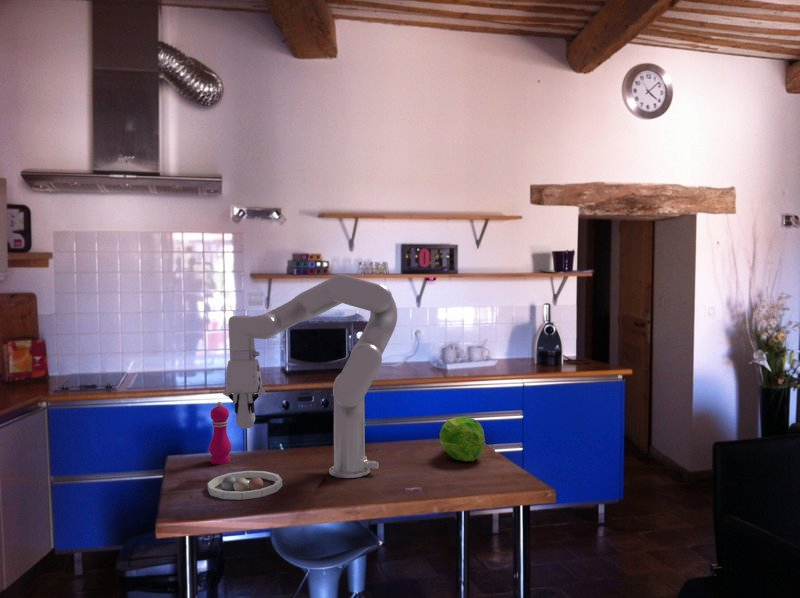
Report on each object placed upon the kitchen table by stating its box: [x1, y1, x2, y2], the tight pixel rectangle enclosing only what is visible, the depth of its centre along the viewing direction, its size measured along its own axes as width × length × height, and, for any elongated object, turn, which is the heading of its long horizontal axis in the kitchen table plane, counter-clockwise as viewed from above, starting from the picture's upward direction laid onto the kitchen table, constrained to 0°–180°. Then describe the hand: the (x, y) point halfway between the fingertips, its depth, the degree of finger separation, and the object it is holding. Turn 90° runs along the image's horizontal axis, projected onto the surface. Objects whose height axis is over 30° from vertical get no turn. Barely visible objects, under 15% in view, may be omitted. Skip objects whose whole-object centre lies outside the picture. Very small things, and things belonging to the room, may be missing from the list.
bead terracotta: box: [249, 477, 264, 491], centre depth 182 cm, size 4×4×4 cm
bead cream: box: [233, 478, 248, 492], centre depth 181 cm, size 4×4×4 cm
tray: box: [207, 470, 283, 500], centre depth 184 cm, size 20×20×3 cm
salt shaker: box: [235, 390, 256, 430], centre depth 199 cm, size 6×6×13 cm
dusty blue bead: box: [221, 476, 236, 491], centre depth 182 cm, size 4×4×4 cm
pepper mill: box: [208, 401, 233, 465], centre depth 215 cm, size 7×7×20 cm
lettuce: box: [439, 416, 486, 462], centre depth 220 cm, size 15×22×15 cm
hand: (245, 414), depth 199 cm, fingers closed on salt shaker, 3 cm apart
